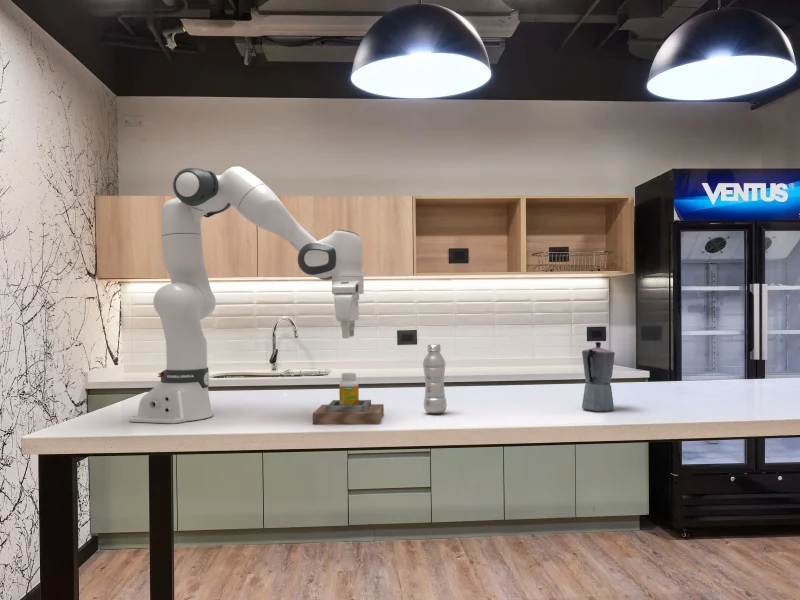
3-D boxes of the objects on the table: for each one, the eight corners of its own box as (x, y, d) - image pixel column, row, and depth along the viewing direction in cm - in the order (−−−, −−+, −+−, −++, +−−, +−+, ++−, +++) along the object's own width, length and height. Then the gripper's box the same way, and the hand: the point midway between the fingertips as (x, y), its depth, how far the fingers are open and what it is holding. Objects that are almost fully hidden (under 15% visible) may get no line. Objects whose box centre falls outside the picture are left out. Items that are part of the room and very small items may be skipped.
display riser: (312, 424, 152) (312, 407, 152) (322, 414, 166) (322, 399, 166) (379, 424, 151) (379, 407, 151) (383, 414, 165) (383, 399, 165)
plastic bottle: (445, 415, 161) (444, 345, 161) (422, 415, 162) (420, 345, 163) (448, 411, 167) (447, 344, 168) (425, 411, 169) (424, 344, 169)
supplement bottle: (343, 410, 155) (342, 375, 155) (337, 407, 160) (336, 373, 160) (361, 408, 157) (361, 373, 157) (355, 406, 162) (354, 372, 162)
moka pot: (620, 407, 170) (619, 341, 171) (609, 416, 157) (607, 344, 158) (588, 405, 176) (587, 340, 176) (574, 413, 163) (573, 343, 163)
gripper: (342, 289, 169) (342, 335, 169) (330, 286, 149) (331, 339, 149) (363, 289, 169) (363, 335, 169) (354, 286, 149) (354, 339, 148)
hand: (348, 337), depth 159 cm, fingers open, 8 cm apart
